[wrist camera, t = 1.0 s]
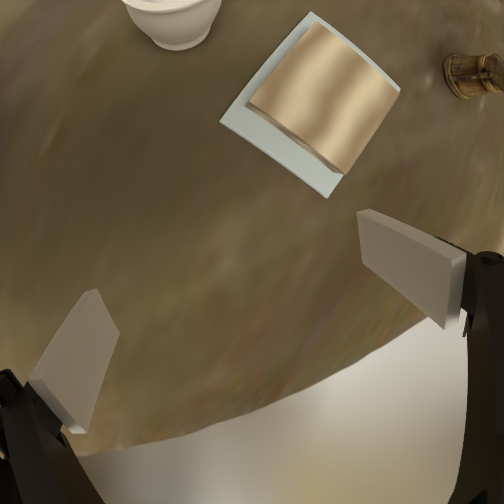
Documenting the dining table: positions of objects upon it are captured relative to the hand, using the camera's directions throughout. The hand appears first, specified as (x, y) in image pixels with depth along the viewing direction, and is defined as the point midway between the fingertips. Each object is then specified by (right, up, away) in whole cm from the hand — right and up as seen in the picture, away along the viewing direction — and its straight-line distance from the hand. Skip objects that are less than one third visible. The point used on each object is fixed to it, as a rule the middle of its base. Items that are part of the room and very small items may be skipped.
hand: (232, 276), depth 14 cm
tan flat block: (+10, +22, +22) cm, 33 cm away
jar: (-9, +32, +17) cm, 37 cm away
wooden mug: (+37, +33, +24) cm, 55 cm away
